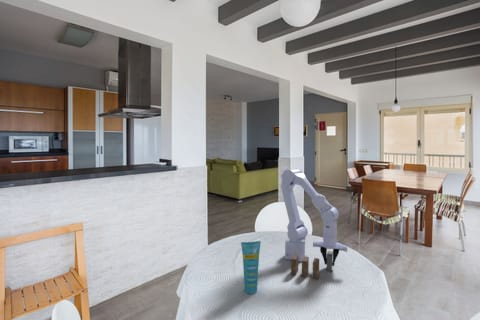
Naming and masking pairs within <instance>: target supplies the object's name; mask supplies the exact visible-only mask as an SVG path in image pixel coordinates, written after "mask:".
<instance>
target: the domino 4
mask: <svg viewBox="0 0 480 320" xmlns="http://www.w3.org/2000/svg"><path fill="white" fill-rule="evenodd" d="M332 263H333V251H330V250H327V264H326V271H327V272H332V269H333V266H332Z"/></svg>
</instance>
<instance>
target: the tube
mask: <svg viewBox="0 0 480 320" xmlns="http://www.w3.org/2000/svg"><path fill="white" fill-rule="evenodd" d="M240 245H241V252H242V262H243V263H242V265H243V266H242V267H243V285H244V287H243V290H244V292H245V293H246V294H251V295H253V294H256V293H257V291H258V283H259V282H258V281H259V279H258V278H259V266H260V265H259V264H260V263H259V262H260V251H261V240H257V241H245V242H243V241H241V242H240Z"/></svg>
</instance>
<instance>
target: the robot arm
mask: <svg viewBox="0 0 480 320" xmlns="http://www.w3.org/2000/svg"><path fill="white" fill-rule="evenodd" d="M280 177H281V184H280V189H281V192H282V197H283V201H284V206H285V209H286V213H287V217H288V224H287V226H286V227H287V238H286V240H285V244H284V259H285V260H289V261H291V258H292V256H293V255H294V254H295V255H298V263H299V262H300V263H302V259H303V257H304V256H307V257H308V254H306V237H307V236H308V234H309V233H308V232H309V231H308V229H307V227H306V225H305V222H304V221H303V220H301V217H300V213H299V208H298V206H297V202H296V198H295V197H296V196H295V193H294V189H293V188H295V185H298V186H300V187H301V188H302V189H303V191H305V193H306V194H308V196H309V197H310V198H311V203H312V204H313V205H314V207H315V209H317V211H319V213H320V216H321V217H320V218H321V220H322V221H323V223H322V224H323V226H322V227H323V235H322V237H323V238H322V241H316V240H314V241H313V242H312V247H314V248H319V249H320V250H319V251H320V253H321V256H322V258H323V262H324V265H326V266H327V253H328V250H332V252H333V259H332V267H335V262H336V259H337V258H338V256H339V253H340V251H341V252H345V253H348V245H343V244H340V243H337V242H338V241H337V240H338V239H337V238H338V236H337V235H338V218H339V215H340V212H339V210H338V208H337V207H334V206H333V205H332V204H330V203H329V201H328V200H327V199H326V196H325V195H322V193H318V192H317V191H316V189H315V188H314V186H313V185H312V184H311V183H310V181H309V180H308V179H307V177H306V174H305V173H304V172H303V171H302V170H301V168H291V169H285V170H283V172H282V174H281V176H280Z"/></svg>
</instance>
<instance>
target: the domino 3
mask: <svg viewBox="0 0 480 320" xmlns="http://www.w3.org/2000/svg"><path fill="white" fill-rule="evenodd" d="M313 258H314V259H313V261H312V280H315V281H318V279H319V276H320V258H318V257H313Z"/></svg>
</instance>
